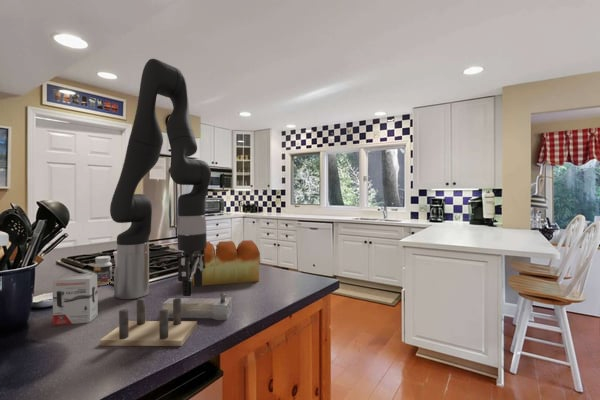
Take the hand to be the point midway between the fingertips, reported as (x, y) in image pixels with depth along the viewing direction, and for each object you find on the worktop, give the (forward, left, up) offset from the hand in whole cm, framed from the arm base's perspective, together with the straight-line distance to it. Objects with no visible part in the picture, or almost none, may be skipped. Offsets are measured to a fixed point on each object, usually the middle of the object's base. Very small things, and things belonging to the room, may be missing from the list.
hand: (193, 290), depth 83 cm
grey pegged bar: (+1, 0, -7) cm, 7 cm away
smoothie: (-44, +40, -7) cm, 60 cm away
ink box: (-30, -4, -7) cm, 31 cm away
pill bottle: (-44, +28, -7) cm, 52 cm away
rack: (-6, -12, -7) cm, 15 cm away
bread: (0, +35, -7) cm, 36 cm away
